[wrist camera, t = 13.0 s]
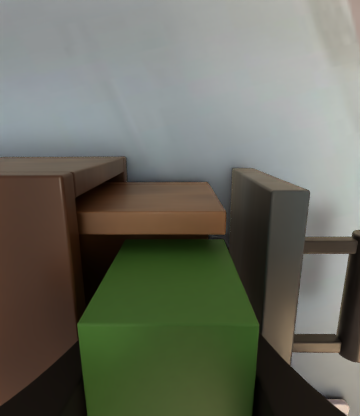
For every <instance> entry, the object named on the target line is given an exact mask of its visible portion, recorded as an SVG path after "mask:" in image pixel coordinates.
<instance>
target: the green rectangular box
mask: <svg viewBox="0 0 360 416" xmlns="http://www.w3.org/2000/svg"><path fill="white" fill-rule="evenodd" d="M77 328H78V337H79V346H80V355H81V364H82V373H83V382H84V391H85V400H86V409H87V416H252V415H253V402H254V389H255V376H256V363H257V350H258V337H259V323H258V320H257V318H256V316H255V313H254V311H253V308H252V306H251V304H250V301H249V299H248V296H247V294H246V292H245V289H244V287H243V284H242V282H241V280H240V277H239V275H238V272H237V270H236V268H235V265H234V263H233V260H232V258H231V256H230V253H229V251H228V248H227V246H226V244H225V241H224V240H223V239H126V240H125V241H124V243H123V245H122V247H121V248H120V250H119V252H118V254H117V255H116V257H115V259H114V261H113V262H112V264H111V266H110V268H109V269H108V271H107V273H106V275H105V276H104V278H103V280H102V282H101V283H100V285H99V287H98V289H97V290H96V292H95V294H94V296H93V297H92V299H91V301H90V303H89V304H88V306H87V308H86V310H85V311H84V313H83V315H82V317H81V318H80V320H79V322H78V324H77Z"/></svg>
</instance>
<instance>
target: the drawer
mask: <svg viewBox="0 0 360 416" xmlns="http://www.w3.org/2000/svg"><path fill="white" fill-rule="evenodd" d="M309 198H310V191H309V190H306V189H304V188H301V187H299V186H296V185H294V184H291V183H289V182H286V181H284V180H281V179H279V178H276V177H274V176H271V175H269V174H266V173H264V172H261V171H259V170H256V169H254V168H233V169H232V188H231V212H230V236H229V253H230V256H231V258H232V260H233V263H234V265H235V268H236V270H237V272H238V275H239V277H240V280H241V282H242V284H243V287H244V289H245V292H246V294H247V296H248V299H249V301H250V304H251V306H252V308H253V311H254V313H255V316H256V318H257V320H258V323H259V332H260V333H261V334H262V336H263V337H264V338H265V339H266V340H267V341H268V343H269V344H270V345H271V346H272V347H273V348H274V349H275V350H276V351H277V352H278V353H279V355H280V356H281V357H282V358H283V359H284V360H285V361H286V362H287V363H288V364H289V365H290V366H291V357H292V352H314V353H339V354H340V355H341V356H342V357H344V358H346V359H348V360H350V361H353V362H358V363H360V230H355V231H353V233H352V238H351V237H305V233H306V224H307V216H308V207H309ZM75 203H76V213H77V223H78V233H79V243H80V253H81V263H82V273H83V283H84V293H85V303H86V308H87V306H88V304H89V303H90V301H91V299H92V297H93V296H94V294H95V292H96V290H97V289H98V287H99V285H100V283H101V282H102V280H103V278H104V276H105V275H106V273H107V271H108V269H109V268H110V266H111V264H112V262H113V261H114V259H115V257H116V255H117V254H118V252H119V250H120V248H121V247H122V245H123V243H124V241H125V240H126V239H208V238H209V235H224V234H225V233H226V211H225V209H224V207H223V206H222V204H221V203H220V201H219V199H218V198H217V196H216V194H215V193H214V191H213V189H212V188H211V186H210V185H209V183H208V182H104V183H102V184H100V185H98V186H96V187H94V188H92V189H91V190H89V191H87V192H85V193H83V194H81V195H79V196H78V197H76V198H75ZM303 254H349V257H348V264H347V270H346V276H345V283H344V289H343V295H342V302H341V308H340V315H339V321H338V327H337V334H336V335H335V334H294V330H295V322H296V313H297V304H298V295H299V286H300V277H301V269H302V260H303Z"/></svg>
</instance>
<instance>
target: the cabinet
mask: <svg viewBox="0 0 360 416" xmlns="http://www.w3.org/2000/svg"><path fill="white" fill-rule="evenodd" d="M104 182H127V165H126V157H0V406H1V405H3V404H4V403H5V402H7V401H8V400H9V399H11V398H12V397H13V396H15V395H16V394H17V393H19V392H20V391H21V390H22V389H24V388H25V387H26V386H28V385H29V384H30V383H31V382H33V381H34V380H35V379H36V378H37V377H39V376H40V375H41V374H42V373H43V372H44V371H46V370H47V369H48V368H49V367H50V366H51V365H52V364H53V363H54V362H56V361H57V360H58V359H59V358H60V357H61V356H62V355H63V354H64V353H65V352H66V351H67V350H68V349H70V348H71V347H72V346H73V345H74V344H75V343H76V342H77V341H78V340H79V337H78V328H77V324H78V322H79V320H80V318H81V317H82V315H83V313H84V311H85V310H86V303H85V293H84V283H83V273H82V263H81V253H80V243H79V233H78V223H77V213H76V203H75V198H76V197H78V196H79V195H81V194H83V193H85V192H87V191H89V190H91V189H92V188H94V187H96V186H98V185H100V184H102V183H104Z"/></svg>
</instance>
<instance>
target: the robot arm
mask: <svg viewBox="0 0 360 416" xmlns="http://www.w3.org/2000/svg"><path fill="white" fill-rule="evenodd" d="M348 414H349V406H348V404H347V402H346V401H345V400H342V399H326V398H325V397H324V396H322V395H321V394H320V393H319V392H318V391H317V390H315V389H314V388H313V387H312V386H311V385H310V384H309V383H308V382H306V381H305V380H304V379H303V378H302V377H301V376H300V375H299V374H298V373H297V372H296V371H295V370H294V369H293V368H292V367H291V366H290V365H289V364H288V363H287V362H286V361H285V360H284V359H283V358H282V357H281V356H280V355H279V353H278V352H277V351H276V350H275V349H274V348H273V347H272V346H271V345H270V344H269V343H268V341H267V340H266V339H265V338H264V337H263V336H262V334H261V333H260V332H259V337H258V350H257V363H256V376H255V389H254V402H253V415H252V416H348ZM0 416H87V409H86V400H85V391H84V382H83V373H82V364H81V355H80V346H79V340H78V341H77V342H76V343H75V344H74V345H73V346H72V347H71V348H70V349H68V350H67V351H66V352H65V353H64V354H63V355H62V356H61V357H60V358H59V359H58V360H57V361H56V362H54V363H53V364H52V365H51V366H50V367H49V368H48V369H47V370H46V371H44V372H43V373H42V374H41V375H40V376H39V377H37V378H36V379H35V380H34V381H33V382H31V383H30V384H29V385H28V386H26V387H25V388H24V389H22V390H21V391H20V392H19V393H17V394H16V395H15V396H13V397H12V398H11V399H9V400H8V401H7V402H5V403H4V404H3V405H1V406H0Z"/></svg>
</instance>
